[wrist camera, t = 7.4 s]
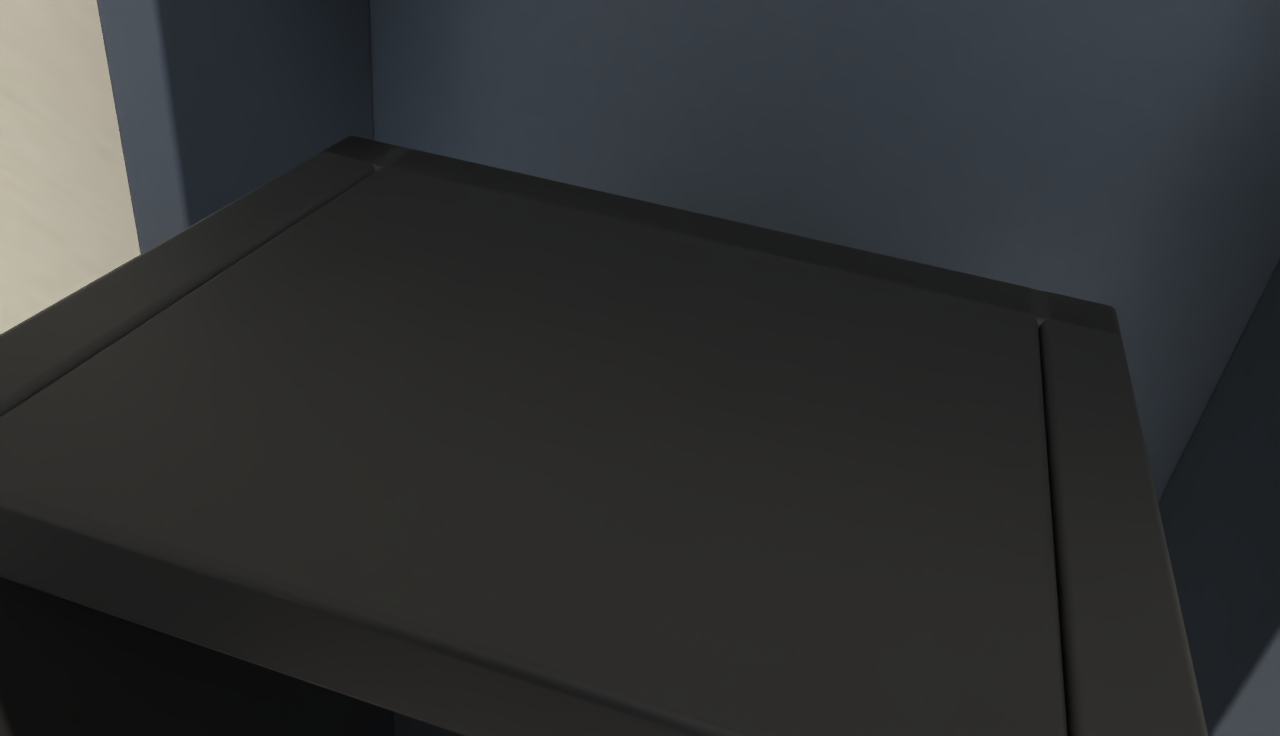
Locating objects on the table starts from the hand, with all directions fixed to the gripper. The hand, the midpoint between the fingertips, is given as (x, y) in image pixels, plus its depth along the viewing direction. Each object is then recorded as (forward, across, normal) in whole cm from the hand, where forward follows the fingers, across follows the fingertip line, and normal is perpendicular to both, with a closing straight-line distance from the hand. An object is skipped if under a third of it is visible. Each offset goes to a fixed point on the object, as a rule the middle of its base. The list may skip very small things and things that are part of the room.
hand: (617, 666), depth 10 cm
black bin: (+1, 0, 0) cm, 1 cm away
